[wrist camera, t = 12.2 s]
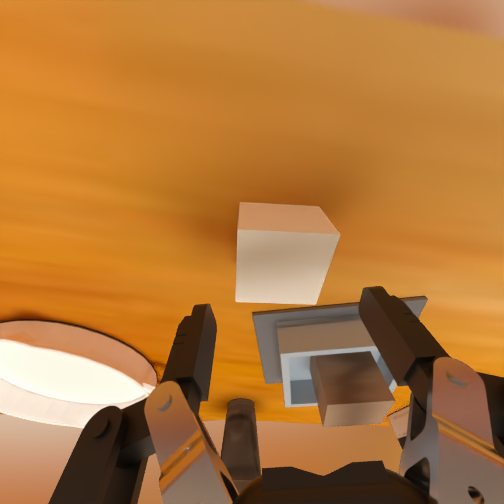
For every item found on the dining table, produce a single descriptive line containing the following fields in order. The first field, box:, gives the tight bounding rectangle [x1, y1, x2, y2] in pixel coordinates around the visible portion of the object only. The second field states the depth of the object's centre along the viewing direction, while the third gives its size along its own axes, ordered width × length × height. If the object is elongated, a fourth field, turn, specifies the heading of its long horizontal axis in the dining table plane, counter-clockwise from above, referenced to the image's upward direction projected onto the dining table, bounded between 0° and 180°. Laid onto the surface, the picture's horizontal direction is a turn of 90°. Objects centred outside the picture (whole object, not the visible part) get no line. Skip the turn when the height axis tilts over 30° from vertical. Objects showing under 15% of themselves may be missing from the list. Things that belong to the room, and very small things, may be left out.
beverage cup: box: [221, 399, 261, 494], centre depth 28 cm, size 7×7×20 cm
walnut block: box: [310, 351, 395, 427], centre depth 23 cm, size 6×6×6 cm
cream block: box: [235, 202, 340, 305], centre depth 15 cm, size 6×6×4 cm
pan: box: [0, 320, 157, 428], centre depth 27 cm, size 24×27×4 cm
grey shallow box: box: [253, 296, 428, 407], centre depth 25 cm, size 18×16×4 cm
